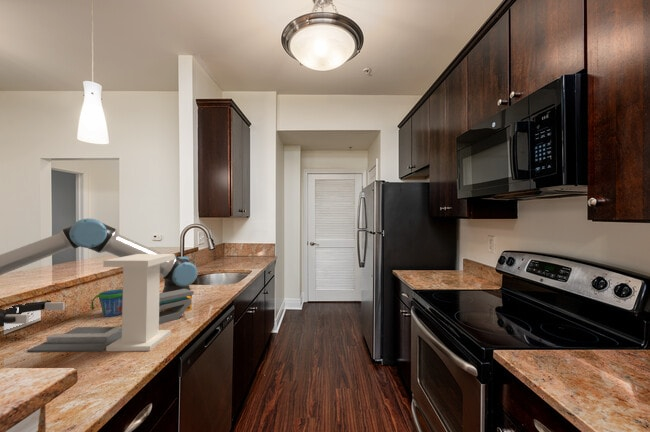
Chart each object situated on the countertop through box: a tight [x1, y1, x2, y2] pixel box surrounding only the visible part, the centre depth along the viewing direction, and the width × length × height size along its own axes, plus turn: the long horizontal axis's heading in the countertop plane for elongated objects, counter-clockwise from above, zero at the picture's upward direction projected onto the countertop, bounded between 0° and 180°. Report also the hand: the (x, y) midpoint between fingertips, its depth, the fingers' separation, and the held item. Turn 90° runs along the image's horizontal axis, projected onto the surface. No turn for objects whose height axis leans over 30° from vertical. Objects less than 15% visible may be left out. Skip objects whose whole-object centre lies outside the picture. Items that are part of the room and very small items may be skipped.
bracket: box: [46, 325, 122, 343], centre depth 103 cm, size 20×10×2 cm, turn 93°
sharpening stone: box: [159, 289, 195, 325], centre depth 122 cm, size 25×8×11 cm, turn 144°
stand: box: [102, 253, 176, 352], centre depth 101 cm, size 14×18×30 cm
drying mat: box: [26, 326, 122, 353], centre depth 103 cm, size 24×20×1 cm
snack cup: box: [90, 288, 123, 318], centre depth 130 cm, size 16×11×10 cm
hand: (47, 312), depth 100 cm, fingers open, 13 cm apart
